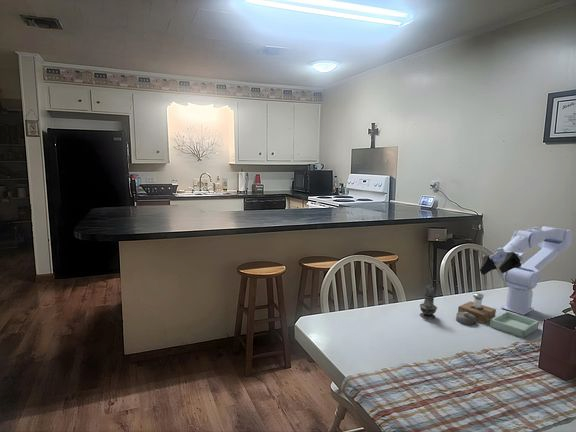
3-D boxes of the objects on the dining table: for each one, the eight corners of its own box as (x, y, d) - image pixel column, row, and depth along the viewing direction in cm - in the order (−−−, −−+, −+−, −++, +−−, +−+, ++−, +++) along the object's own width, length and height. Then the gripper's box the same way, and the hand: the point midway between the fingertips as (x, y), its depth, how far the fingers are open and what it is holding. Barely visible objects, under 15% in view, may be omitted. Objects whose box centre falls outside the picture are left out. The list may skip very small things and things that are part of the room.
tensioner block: (469, 308, 140) (470, 301, 139) (495, 317, 133) (496, 309, 132) (448, 318, 130) (449, 310, 130) (474, 328, 123) (475, 319, 123)
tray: (505, 317, 132) (506, 311, 132) (538, 328, 124) (539, 321, 124) (489, 326, 125) (490, 319, 124) (523, 338, 117) (524, 330, 116)
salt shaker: (437, 320, 128) (441, 287, 127) (420, 318, 130) (422, 285, 128) (434, 313, 134) (437, 281, 132) (417, 312, 135) (420, 280, 134)
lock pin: (473, 313, 136) (476, 292, 134) (482, 316, 133) (485, 294, 132) (469, 315, 134) (471, 294, 132) (478, 318, 131) (481, 296, 130)
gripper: (488, 244, 139) (468, 263, 133) (525, 238, 126) (504, 258, 120) (498, 260, 139) (477, 280, 133) (536, 256, 126) (515, 277, 120)
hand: (491, 271), depth 126 cm, fingers open, 7 cm apart
